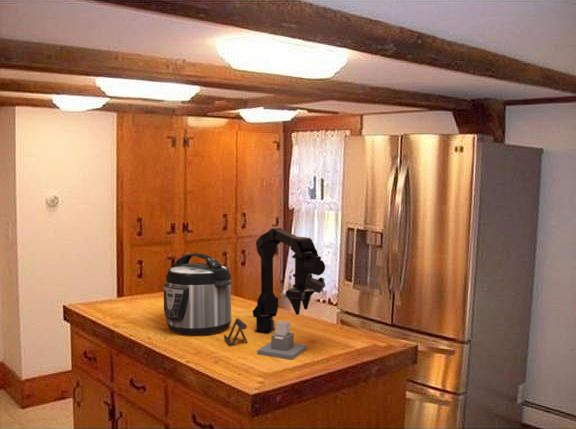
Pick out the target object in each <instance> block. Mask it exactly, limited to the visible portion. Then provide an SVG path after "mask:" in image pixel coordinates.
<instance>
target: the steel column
mask: <svg viewBox="0 0 576 429" xmlns="http://www.w3.org/2000/svg"><path fill="white" fill-rule="evenodd" d="M275 333H276V336H283V337H287V336H288V335H290V333H291V322H290V321H285V320H279V321H277V322H276V323H275Z"/></svg>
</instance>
